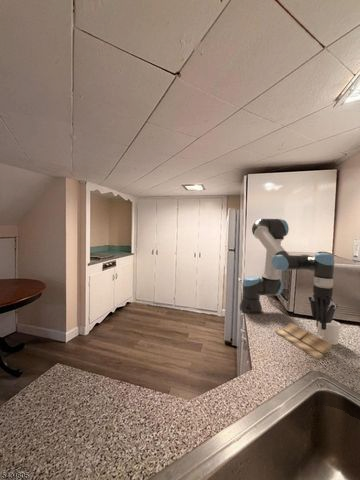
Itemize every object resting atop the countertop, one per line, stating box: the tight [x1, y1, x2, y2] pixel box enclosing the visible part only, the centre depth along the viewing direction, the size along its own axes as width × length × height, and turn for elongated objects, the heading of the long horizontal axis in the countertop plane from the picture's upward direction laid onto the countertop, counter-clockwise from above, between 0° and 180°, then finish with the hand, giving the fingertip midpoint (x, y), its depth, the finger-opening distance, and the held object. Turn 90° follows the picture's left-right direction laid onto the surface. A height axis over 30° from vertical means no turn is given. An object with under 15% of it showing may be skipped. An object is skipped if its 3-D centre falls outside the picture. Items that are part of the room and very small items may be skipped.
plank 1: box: [282, 322, 309, 342], centre depth 108 cm, size 11×6×1 cm
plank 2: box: [301, 332, 333, 356], centre depth 96 cm, size 11×6×1 cm
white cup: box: [321, 319, 341, 346], centre depth 103 cm, size 8×8×10 cm
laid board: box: [274, 329, 324, 359], centre depth 101 cm, size 24×4×1 cm, turn 16°
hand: (320, 335), depth 97 cm, fingers closed
